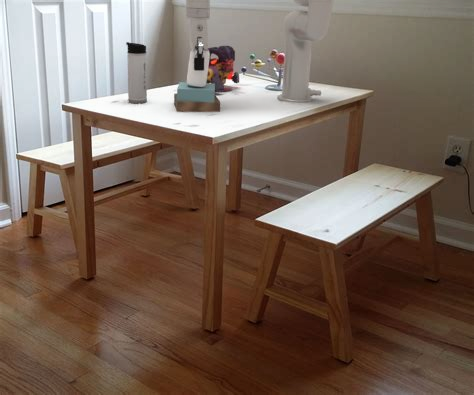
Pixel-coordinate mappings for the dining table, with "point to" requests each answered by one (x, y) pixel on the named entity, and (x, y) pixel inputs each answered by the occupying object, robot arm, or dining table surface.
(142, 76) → the travel mug
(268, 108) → the dining table surface
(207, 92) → the tower top block
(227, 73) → the figurine
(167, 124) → the dining table surface
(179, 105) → the tower base block
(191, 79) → the can
